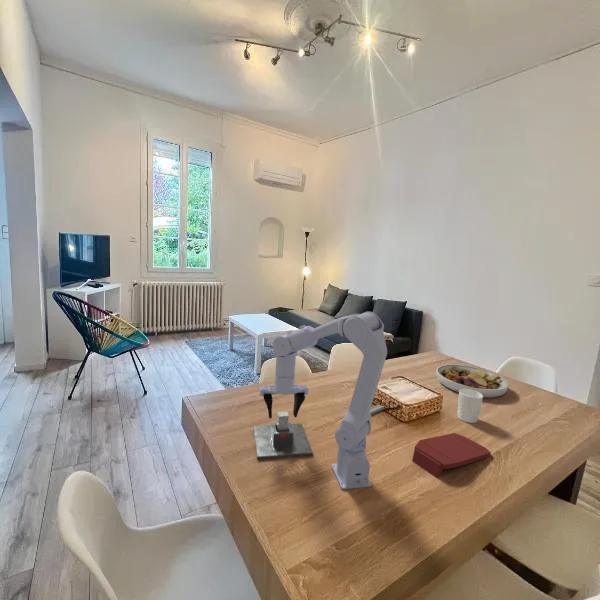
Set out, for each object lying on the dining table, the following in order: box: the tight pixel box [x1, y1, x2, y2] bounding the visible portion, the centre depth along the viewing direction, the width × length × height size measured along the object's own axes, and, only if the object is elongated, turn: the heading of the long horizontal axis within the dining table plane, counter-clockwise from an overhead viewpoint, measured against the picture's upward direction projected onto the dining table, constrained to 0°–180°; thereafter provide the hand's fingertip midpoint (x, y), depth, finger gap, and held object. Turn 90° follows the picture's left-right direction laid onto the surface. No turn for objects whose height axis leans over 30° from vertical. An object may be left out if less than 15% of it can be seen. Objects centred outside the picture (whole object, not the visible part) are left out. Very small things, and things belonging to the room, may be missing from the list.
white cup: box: [457, 389, 483, 424], centre depth 125 cm, size 8×8×10 cm
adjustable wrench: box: [369, 403, 385, 416], centre depth 128 cm, size 25×6×2 cm, turn 124°
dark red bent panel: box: [411, 432, 492, 479], centre depth 102 cm, size 12×5×25 cm
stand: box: [253, 421, 314, 461], centre depth 104 cm, size 16×16×4 cm
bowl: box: [435, 364, 509, 399], centre depth 157 cm, size 30×30×8 cm
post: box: [276, 410, 289, 432], centre depth 103 cm, size 3×3×8 cm
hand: (282, 416), depth 103 cm, fingers open, 7 cm apart
